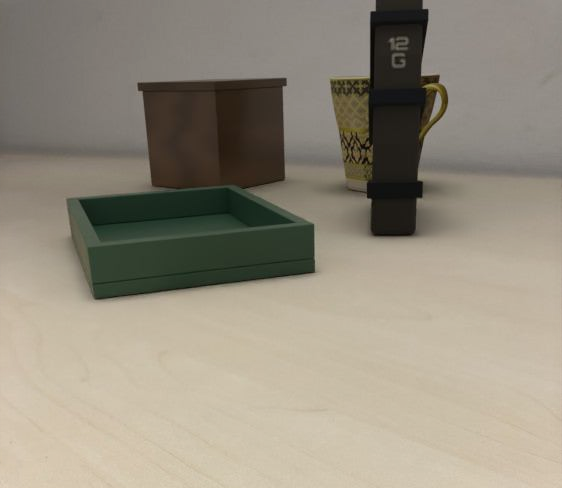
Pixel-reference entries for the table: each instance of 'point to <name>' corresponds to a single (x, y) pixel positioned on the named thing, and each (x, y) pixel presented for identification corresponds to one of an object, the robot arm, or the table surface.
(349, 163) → the ceramic cup
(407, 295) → the table surface
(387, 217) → the magazine
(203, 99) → the stand
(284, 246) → the tray
